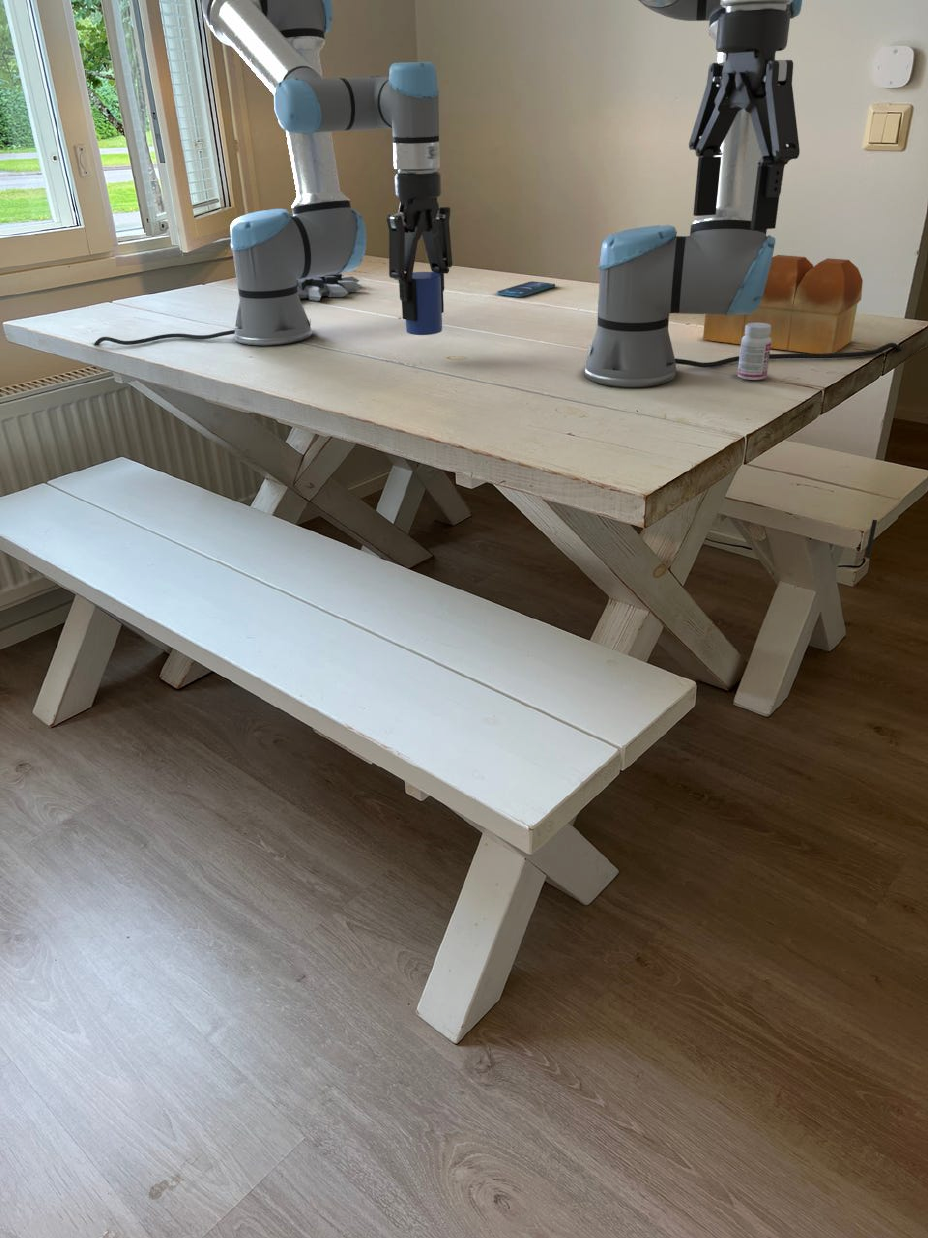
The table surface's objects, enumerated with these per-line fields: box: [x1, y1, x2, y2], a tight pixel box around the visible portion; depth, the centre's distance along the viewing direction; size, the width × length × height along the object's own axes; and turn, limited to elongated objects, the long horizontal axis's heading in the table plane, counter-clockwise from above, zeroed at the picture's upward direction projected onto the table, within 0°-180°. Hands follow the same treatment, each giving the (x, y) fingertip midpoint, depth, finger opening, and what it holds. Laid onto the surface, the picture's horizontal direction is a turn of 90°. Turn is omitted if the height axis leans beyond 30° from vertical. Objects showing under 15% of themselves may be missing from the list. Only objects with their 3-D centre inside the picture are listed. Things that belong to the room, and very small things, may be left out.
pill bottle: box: [737, 323, 772, 381], centre depth 155 cm, size 5×5×8 cm
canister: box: [405, 271, 443, 336], centre depth 165 cm, size 6×6×9 cm
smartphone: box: [496, 281, 556, 298], centre depth 225 cm, size 8×1×15 cm
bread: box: [702, 254, 864, 354], centre depth 174 cm, size 25×12×15 cm, turn 54°
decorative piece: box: [297, 273, 363, 302], centre depth 230 cm, size 30×4×30 cm
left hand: (423, 315), depth 166 cm, fingers closed on canister, 6 cm apart
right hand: (732, 221), depth 112 cm, fingers open, 13 cm apart
